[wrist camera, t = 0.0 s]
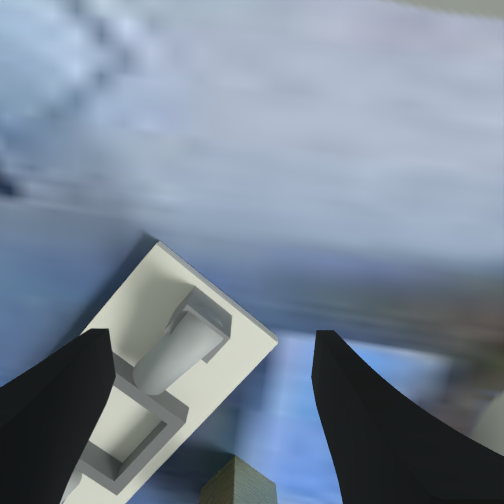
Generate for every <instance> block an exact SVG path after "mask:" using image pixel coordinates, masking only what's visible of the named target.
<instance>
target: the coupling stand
mask: <svg viewBox="0 0 504 504" xmlns="http://www.w3.org/2000/svg"><path fill="white" fill-rule="evenodd" d="M91 328H109V333H110V340H111V346H112V353H113V359H114V366H115V373H116V378H115V381H114V384H113V387H112V390H111V393H110V396H109V398H108V401H107V404H106V406H105V408H104V410H103V412H102V414H101V416H100V418H99V420H98V422H97V424H96V427H95V429H94V431H93V433H92V435H91V437H90V439H89V441H88V443H87V445H86V447H85V449H84V451H83V453H82V455H81V457H80V459H79V461H78V463H77V465H76V467H75V469H74V471H73V473H72V475H71V477H70V480H69V482H68V484H67V487H66V489H65V492H64V494H63V497H62V499H61V502H60V504H125V503H126V502H127V501H128V500H129V499H130V498H131V497H132V496H133V495H134V494H135V493H136V492H137V490H138V489H139V488H140V487H141V486H142V485H143V484H144V483H145V482H146V481H147V480H148V479H149V478H150V477H151V476H152V475H153V474H154V473H155V472H156V471H157V469H158V468H159V467H160V466H161V465H162V464H163V463H164V462H165V461H166V460H167V459H168V458H169V457H170V456H171V455H172V454H173V453H174V452H175V451H176V450H177V449H178V447H179V446H180V445H181V444H182V443H183V442H184V441H185V440H186V439H187V438H188V437H189V436H190V435H191V434H192V433H193V432H194V431H195V430H196V429H197V428H198V427H199V425H200V424H201V423H202V422H203V421H204V420H205V419H206V418H207V417H208V416H209V415H210V414H211V413H212V412H213V411H214V410H215V409H216V408H217V407H218V406H219V405H220V403H221V402H222V401H223V400H224V399H225V398H226V397H227V396H228V395H229V394H230V393H231V392H232V391H233V390H234V389H235V388H236V387H237V386H238V385H239V384H240V383H241V381H242V380H243V379H244V378H245V377H246V376H247V375H248V374H249V373H250V372H251V371H252V370H253V369H254V368H255V367H256V366H257V365H258V364H259V363H260V362H261V360H262V359H263V358H264V357H265V356H266V355H267V354H268V353H269V352H270V351H271V350H272V349H273V348H274V347H275V346H276V345H277V344H278V340H277V336H276V335H275V334H274V333H272V332H271V331H270V330H269V329H267V328H266V327H265V326H264V325H262V324H261V323H260V322H259V321H258V320H256V319H255V318H254V317H253V316H251V315H250V314H249V313H248V312H246V311H245V310H244V309H243V308H242V307H240V306H239V305H238V304H237V303H235V302H234V301H233V300H232V299H231V298H229V297H228V296H227V295H226V294H224V293H223V292H222V291H221V290H219V289H218V288H217V287H216V286H215V285H213V284H212V283H211V282H210V281H208V280H207V279H206V278H205V277H203V276H202V275H201V274H200V273H199V272H197V271H196V270H195V269H194V268H192V267H191V266H190V265H189V264H187V263H186V262H185V261H184V260H183V259H181V258H180V257H179V256H178V255H176V254H175V253H174V252H173V251H172V250H170V249H169V248H168V247H167V246H165V245H164V244H163V243H162V242H160V241H159V242H158V243H156V244H155V246H154V247H153V248H152V249H151V250H150V252H149V253H148V254H147V255H146V256H145V258H144V259H143V260H142V261H141V262H140V264H139V265H138V266H137V267H136V268H135V270H134V271H133V272H132V273H131V274H130V276H129V277H128V278H127V279H126V280H125V282H124V283H123V284H122V285H121V286H120V288H119V289H118V290H117V291H116V292H115V294H114V295H113V296H112V297H111V298H110V300H109V301H108V302H107V303H106V304H105V306H104V307H103V308H102V309H101V310H100V312H99V313H98V314H97V315H96V316H95V318H94V319H93V320H92V321H91V322H90V324H89V325H88V326H87V327H86V328H85V329H84V331H83V332H82V333H81V334H83V333H84V332H86V331H87V330H89V329H91ZM81 334H80V335H81ZM80 335H79V336H80Z"/></svg>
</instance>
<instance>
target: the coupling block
mask: <svg viewBox="0 0 504 504" xmlns="http://www.w3.org/2000/svg"><path fill="white" fill-rule="evenodd" d="M199 504H277V494H276V484H275V483H273V482H272V481H271V480H269V479H268V478H266V477H265V476H264V475H262V474H261V473H260V472H258V471H257V470H255V469H254V468H253V467H251V466H250V465H248V464H247V463H246V462H244V461H243V460H242V459H240V458H239V457H237V456H236V455H234V456H233V457H232V458H231V459H230V460H229V461H228V462H227V464H226V465H225V466H224V467H223V468H222V469H221V470H220V471H219V472H218V473H217V474H216V475H215V476H214V477H213V478H212V479H211V480H210V481H209V482H208V483H207V484H206V485H205V486H204V487H203V488H202V489H201V490H200V496H199Z"/></svg>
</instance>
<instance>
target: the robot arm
mask: <svg viewBox="0 0 504 504" xmlns="http://www.w3.org/2000/svg"><path fill="white" fill-rule="evenodd" d="M115 378H116V373H115V366H114V359H113V353H112V346H111V340H110V333H109V328H91V329H89V330H87V331H86V332H84V333H83V334H81V335H80V336H78V337H77V338H75V339H74V340H72V341H71V342H69V343H68V344H67V345H65V346H64V347H62V348H61V349H59V350H58V351H56V352H55V353H53V354H52V355H51V356H49V357H48V358H46V359H45V360H43V361H42V362H40V363H39V364H37V365H36V366H34V367H32V368H31V369H29V370H28V371H26V372H25V373H23V374H21V375H20V376H18V377H17V378H15V379H13V380H12V381H10V382H9V383H7V384H5V385H4V386H2V387H0V504H60V502H61V499H62V497H63V494H64V492H65V489H66V487H67V484H68V482H69V480H70V477H71V475H72V473H73V471H74V469H75V467H76V465H77V463H78V461H79V459H80V457H81V455H82V453H83V451H84V449H85V447H86V445H87V443H88V441H89V439H90V437H91V435H92V433H93V431H94V429H95V427H96V424H97V422H98V420H99V418H100V416H101V414H102V412H103V410H104V408H105V406H106V404H107V401H108V398H109V396H110V393H111V390H112V387H113V384H114V381H115ZM311 378H312V384H313V390H314V396H315V401H316V406H317V410H318V413H319V416H320V420H321V423H322V427H323V430H324V433H325V437H326V440H327V443H328V446H329V450H330V453H331V456H332V460H333V463H334V466H335V470H336V474H337V478H338V482H339V486H340V491H341V496H342V501H343V504H504V456H502V455H500V454H498V453H496V452H494V451H492V450H490V449H488V448H487V447H485V446H483V445H481V444H479V443H477V442H475V441H474V440H472V439H470V438H468V437H467V436H465V435H463V434H461V433H460V432H458V431H456V430H454V429H453V428H451V427H450V426H448V425H447V424H445V423H443V422H442V421H440V420H439V419H437V418H435V417H434V416H432V415H431V414H429V413H428V412H426V411H425V410H423V409H422V408H421V407H419V406H418V405H416V404H415V403H414V402H412V401H411V400H410V399H408V398H407V397H406V396H404V395H403V394H402V393H400V392H399V391H398V390H397V389H395V388H394V387H393V386H392V385H391V384H389V383H388V382H387V381H386V380H385V379H383V378H382V377H381V376H380V375H379V374H378V373H377V372H375V371H374V370H373V369H372V368H371V367H370V366H369V365H368V364H367V363H366V362H365V361H364V360H363V359H362V358H361V357H360V356H359V355H358V354H357V353H356V352H355V351H354V350H353V349H352V348H351V347H350V346H349V345H348V344H347V343H346V342H345V341H344V340H343V339H342V338H341V337H340V336H339V335H338V334H337V333H336V332H335V331H334V330H317V331H316V340H315V349H314V358H313V367H312V376H311Z"/></svg>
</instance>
